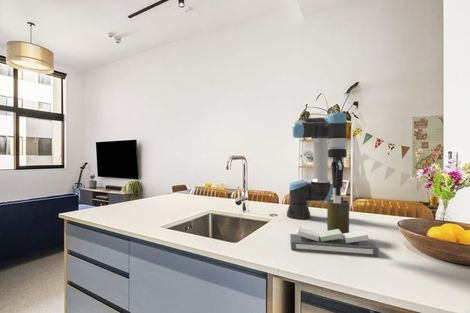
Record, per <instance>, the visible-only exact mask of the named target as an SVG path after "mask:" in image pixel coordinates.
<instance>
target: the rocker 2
mask: <svg viewBox="0 0 470 313" xmlns="http://www.w3.org/2000/svg"><path fill="white" fill-rule="evenodd" d="M342 236H343V239H344V241H345V242H346V243H351V242H357V241H364V240H370V238H369V234H368V233H367V232H366V231H364V230H362V229H361V230H357V231H356V230H355V231H351V232H350V231H349V233H344V234H342Z"/></svg>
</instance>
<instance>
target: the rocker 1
mask: <svg viewBox="0 0 470 313" xmlns="http://www.w3.org/2000/svg"><path fill="white" fill-rule="evenodd" d="M295 230H296V234H297V235H299V236H302V237H305V238H309V239H312V240H315V241H318V240H319V235H318V231H317V232H316V231H314V230H310V229H307V228H303V227H301V226H297V227H296V229H295Z"/></svg>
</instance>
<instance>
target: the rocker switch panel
mask: <svg viewBox="0 0 470 313" xmlns="http://www.w3.org/2000/svg"><path fill="white" fill-rule="evenodd" d="M289 235H290V236H289V238H290V239H289V242H290V250H291V251H303V252H313V253H314V252H316V253H327V254H330V253H331V254H340V255H341V254H342V255H355V256H368V257H378V256H379V247H378V246H377V245H376V244H375V243H374V242H373V241H372V240H370V239H369V240H364V241H357V242H351V243H346V242H345V241H344V239H343V238H340V239H334V240H328V241H322V242H321V240H320V238H319V240H318V241H315V240H312V239H309V238H305V237H302V236H299V235H297V233H296V234H295V233H290V234H289Z"/></svg>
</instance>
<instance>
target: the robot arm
mask: <svg viewBox="0 0 470 313" xmlns="http://www.w3.org/2000/svg"><path fill="white" fill-rule="evenodd" d="M347 122H348V120H347V114H346V113H345V112H331V113H329V114H328V115H327V117H305V118H301V119H297V120H295V122H294V123H293V124H292V137H293V138H294V139H296V138H297V139H306V138H311V140H312V141H313V178H312V179H311V180H310V182H308V180H297V181H292V182H290V184H289V188H288V190H289V205H288V208H287V211H286V216H287V217H288V218H290V219H295V220H307V219H310V218H311V211H310V208H309V205H308V204H309V203H308V202H326V203H327V201H328V200H332V199H333V198H332V197H333V196H334V203H341V197H342V188H343V183H344V182H343V180H344V168H345V166H344V162H343V158H347V157H348V155H347V154H348V153H347V152H348V150H347V149H346V148H348V144H347V143H348V139H347V129H348V128H347ZM328 158H330V159H331V158H332V161H331V164H330V166H331V181H332V183H331V181H330V179H328V172H329V170H328V165H329V164H328V163H329V161H328V160H329V159H328Z"/></svg>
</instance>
